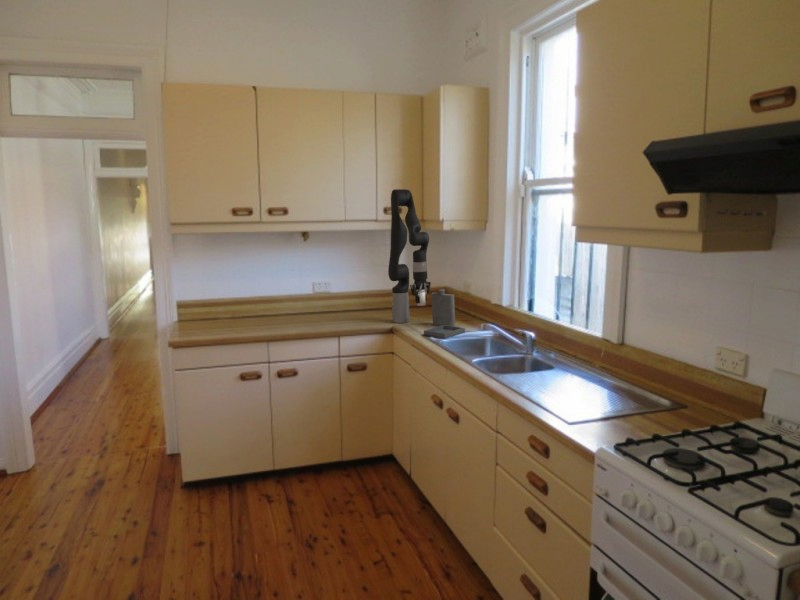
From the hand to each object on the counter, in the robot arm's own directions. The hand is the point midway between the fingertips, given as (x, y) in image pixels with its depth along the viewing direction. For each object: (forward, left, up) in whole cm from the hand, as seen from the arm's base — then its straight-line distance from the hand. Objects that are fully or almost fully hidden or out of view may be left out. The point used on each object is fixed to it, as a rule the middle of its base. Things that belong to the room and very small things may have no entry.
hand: (421, 302), depth 301 cm
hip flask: (+1, +16, -16) cm, 22 cm away
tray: (+15, 0, -15) cm, 22 cm away
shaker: (0, 0, -1) cm, 1 cm away
